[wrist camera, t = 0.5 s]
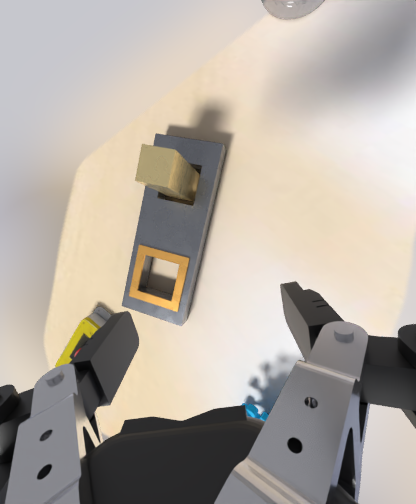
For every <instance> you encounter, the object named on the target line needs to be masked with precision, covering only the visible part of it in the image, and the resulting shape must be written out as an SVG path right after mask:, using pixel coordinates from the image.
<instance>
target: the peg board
mask: <svg viewBox="0 0 416 504" xmlns="http://www.w3.org/2000/svg"><path fill="white" fill-rule="evenodd" d="M153 146H157V147H163V148H169V149H175V150H176V151H177V152H178V153H179V154H180V155H181V156H182V157H183V158H184V159H185V160H186V161H187V162H188V163H189V164H190V165H191V166H192V167H193V168H194V169H200V170H201V174H200V178H199V183H198V187H197V192H196V196H195V201H194V205H193V206H191V205H186V204H182V203H177V202H173V201H168V200H165V196H166V195H165V194H163V193H161V192H159V191H156V190H154V189H152V188H150V187H148V186H145V191H144V196H143V201H142V206H141V211H140V216H139V221H138V226H137V231H136V236H135V241H134V246H133V252H132V257H131V262H130V267H129V272H128V277H127V282H126V287H125V292H124V297H123V302H122V306H124V307H127V308H130V309H133V310H135V311H138V312H141V313H144V314H147V315H150V316H153V317H156V318H159V319H162V320H165V321H168V322H170V323H173V324H176V325H179V326H182V325H183V324H184V323H185V322H186V321H187V318H188V313H189V309H190V305H191V300H192V296H193V292H194V287H195V283H196V279H197V275H198V270H199V266H200V262H201V257H202V253H203V249H204V244H205V240H206V236H207V232H208V227H209V223H210V219H211V214H212V210H213V206H214V201H215V197H216V193H217V189H218V184H219V180H220V176H221V171H222V167H223V163H224V159H225V154H226V149H225V147H224V144H221V143H215V142H208V141H202V140H195V139H188V138H182V137H175V136H169V135H162V134H156V135H155V140H154V145H153ZM153 257H155V258H159V259H162V260H166V261H169V262H173V263H177V264H180V265H179V270H178V274H177V279H176V283H175V288H174V292H173V295H171V294H168V293H165V292H161V291H158V290H155V289H152V288H149V287H147V282H148V277H149V272H150V268H151V263H152V258H153Z"/></svg>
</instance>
